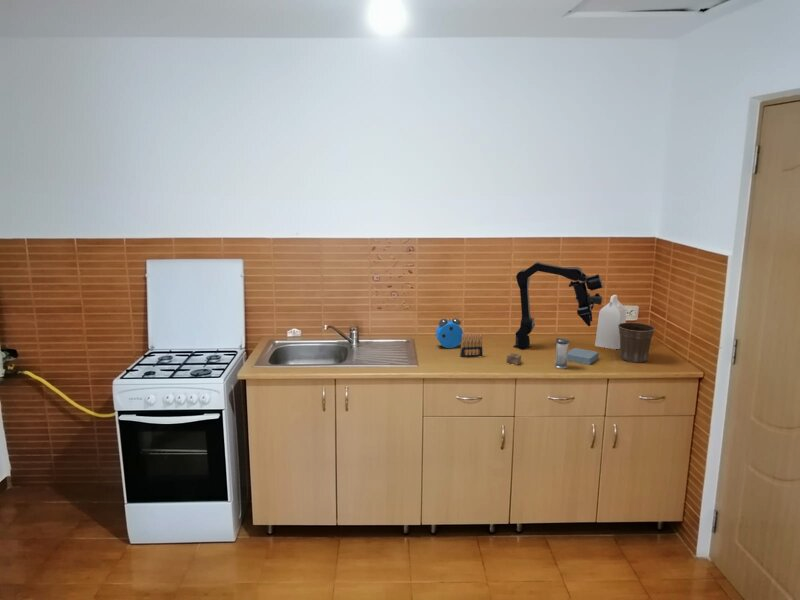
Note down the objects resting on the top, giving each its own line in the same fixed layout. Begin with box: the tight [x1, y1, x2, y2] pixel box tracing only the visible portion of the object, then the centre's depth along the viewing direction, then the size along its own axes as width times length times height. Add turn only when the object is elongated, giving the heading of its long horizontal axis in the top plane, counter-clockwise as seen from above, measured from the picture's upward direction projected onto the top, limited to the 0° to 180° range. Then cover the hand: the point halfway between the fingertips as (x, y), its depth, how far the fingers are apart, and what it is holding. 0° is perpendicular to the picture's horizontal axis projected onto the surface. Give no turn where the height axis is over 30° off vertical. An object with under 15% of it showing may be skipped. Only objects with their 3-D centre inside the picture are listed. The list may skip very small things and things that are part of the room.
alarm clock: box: [435, 317, 464, 349], centre depth 305 cm, size 13×6×15 cm, turn 100°
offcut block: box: [506, 352, 522, 366], centre depth 282 cm, size 5×5×4 cm
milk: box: [594, 294, 627, 350], centre depth 308 cm, size 12×12×26 cm
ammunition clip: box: [459, 332, 483, 358], centre depth 291 cm, size 11×2×12 cm, turn 98°
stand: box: [567, 347, 600, 366], centre depth 288 cm, size 12×12×3 cm
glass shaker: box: [553, 337, 570, 370], centre depth 276 cm, size 6×6×13 cm
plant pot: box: [618, 322, 656, 363], centre depth 287 cm, size 16×16×16 cm
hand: (590, 323), depth 291 cm, fingers open, 9 cm apart
